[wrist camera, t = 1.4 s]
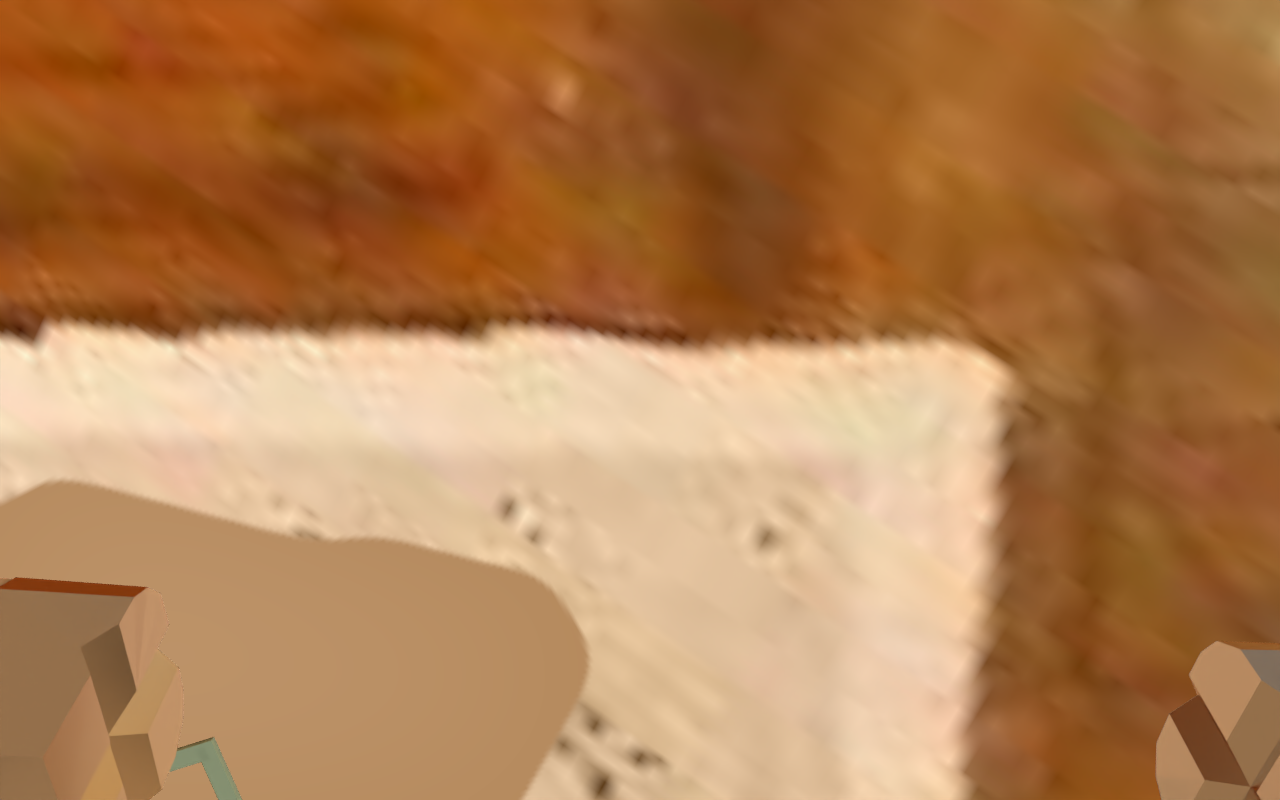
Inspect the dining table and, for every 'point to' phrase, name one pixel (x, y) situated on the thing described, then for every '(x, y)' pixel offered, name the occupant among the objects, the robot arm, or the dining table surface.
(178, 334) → the dining table surface
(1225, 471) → the dining table surface
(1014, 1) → the dining table surface
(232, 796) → the frame
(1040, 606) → the dining table surface
